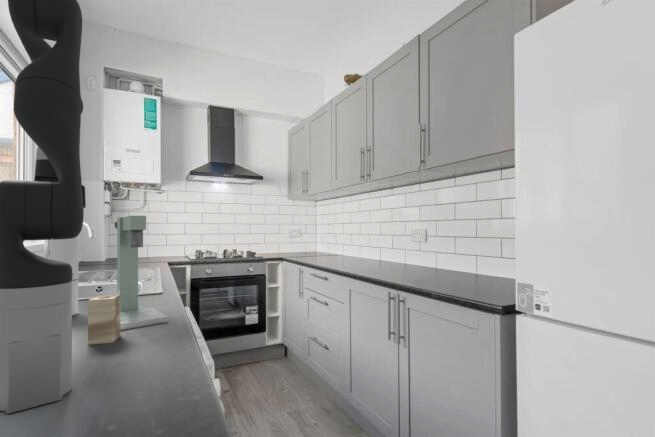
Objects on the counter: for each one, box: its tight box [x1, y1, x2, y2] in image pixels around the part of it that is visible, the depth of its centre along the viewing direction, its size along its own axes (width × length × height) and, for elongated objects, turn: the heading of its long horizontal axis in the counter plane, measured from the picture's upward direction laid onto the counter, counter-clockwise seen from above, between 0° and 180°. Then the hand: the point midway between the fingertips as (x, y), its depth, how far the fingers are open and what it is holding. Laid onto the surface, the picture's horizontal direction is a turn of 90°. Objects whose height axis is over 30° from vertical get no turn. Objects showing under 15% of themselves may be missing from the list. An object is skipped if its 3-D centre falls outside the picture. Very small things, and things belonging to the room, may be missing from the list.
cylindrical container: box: [49, 235, 79, 316], centre depth 109 cm, size 7×7×25 cm
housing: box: [87, 294, 121, 346], centre depth 82 cm, size 5×5×10 cm
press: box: [114, 215, 169, 331], centre depth 106 cm, size 33×12×30 cm, turn 41°
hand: (50, 223), depth 89 cm, fingers open, 8 cm apart
